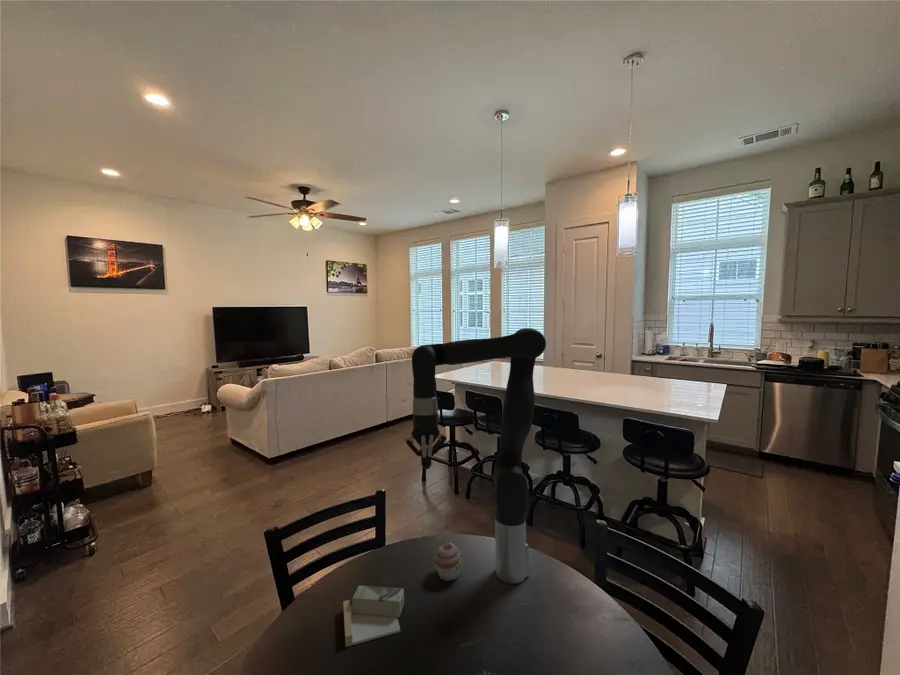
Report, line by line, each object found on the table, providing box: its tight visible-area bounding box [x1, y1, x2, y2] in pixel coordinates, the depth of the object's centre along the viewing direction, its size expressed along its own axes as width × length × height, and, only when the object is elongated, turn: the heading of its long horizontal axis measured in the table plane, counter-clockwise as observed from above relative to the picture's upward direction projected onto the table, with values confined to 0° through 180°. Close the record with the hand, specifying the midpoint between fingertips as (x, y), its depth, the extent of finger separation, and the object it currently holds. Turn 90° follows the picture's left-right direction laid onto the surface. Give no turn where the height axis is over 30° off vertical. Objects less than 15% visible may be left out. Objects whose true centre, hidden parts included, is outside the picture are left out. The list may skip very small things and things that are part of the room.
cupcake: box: [433, 542, 465, 582], centre depth 112 cm, size 9×9×10 cm
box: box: [351, 585, 405, 618], centre depth 98 cm, size 5×4×13 cm
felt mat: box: [342, 599, 401, 648], centre depth 95 cm, size 13×12×2 cm
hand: (426, 468), depth 111 cm, fingers closed
